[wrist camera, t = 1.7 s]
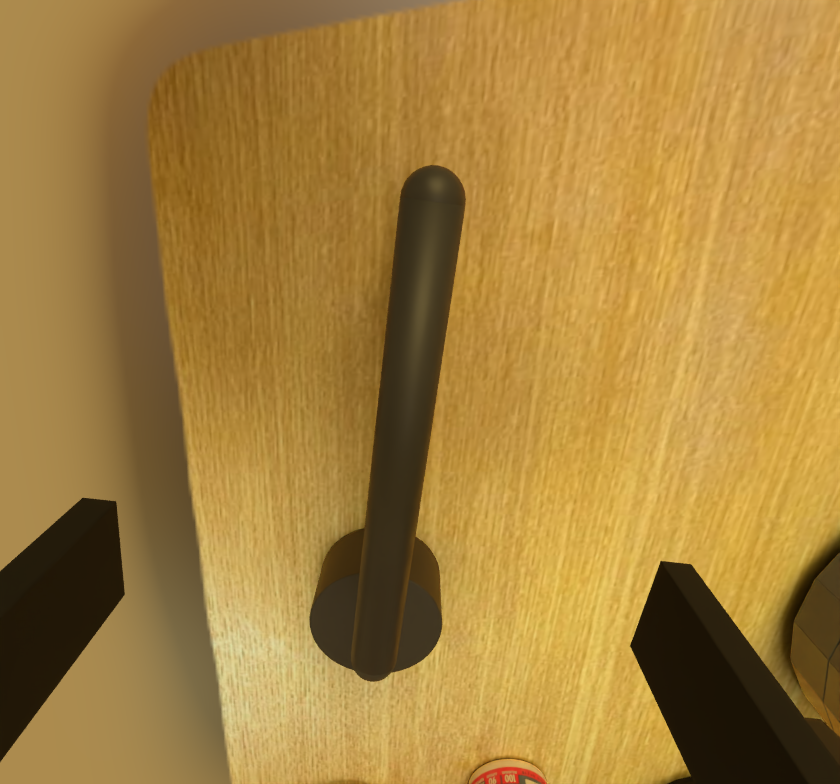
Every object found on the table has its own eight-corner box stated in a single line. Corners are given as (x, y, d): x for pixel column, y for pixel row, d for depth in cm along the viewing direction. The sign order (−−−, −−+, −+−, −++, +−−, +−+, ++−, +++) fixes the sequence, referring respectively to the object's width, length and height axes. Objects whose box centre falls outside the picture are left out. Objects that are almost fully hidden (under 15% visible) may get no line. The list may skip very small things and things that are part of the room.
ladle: (431, 625, 29) (435, 783, 22) (318, 614, 29) (281, 770, 21) (509, 185, 21) (562, 181, 13) (352, 163, 21) (311, 145, 13)
